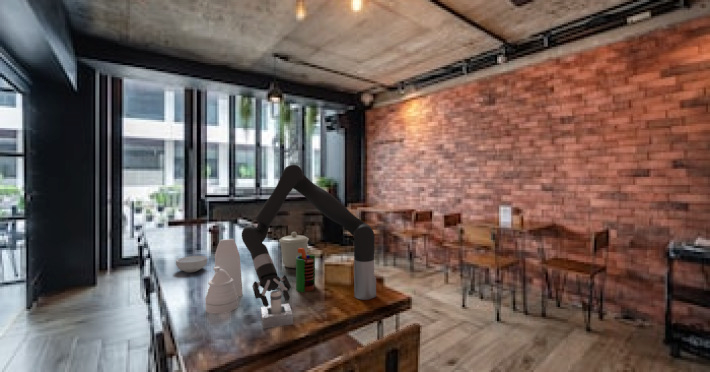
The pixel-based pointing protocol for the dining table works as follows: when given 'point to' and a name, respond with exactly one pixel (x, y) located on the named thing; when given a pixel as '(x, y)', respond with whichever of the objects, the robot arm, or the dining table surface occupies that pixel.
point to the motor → (305, 271)
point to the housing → (276, 316)
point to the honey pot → (221, 293)
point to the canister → (292, 248)
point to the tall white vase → (230, 262)
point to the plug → (275, 302)
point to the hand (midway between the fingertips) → (277, 303)
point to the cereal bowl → (191, 263)
